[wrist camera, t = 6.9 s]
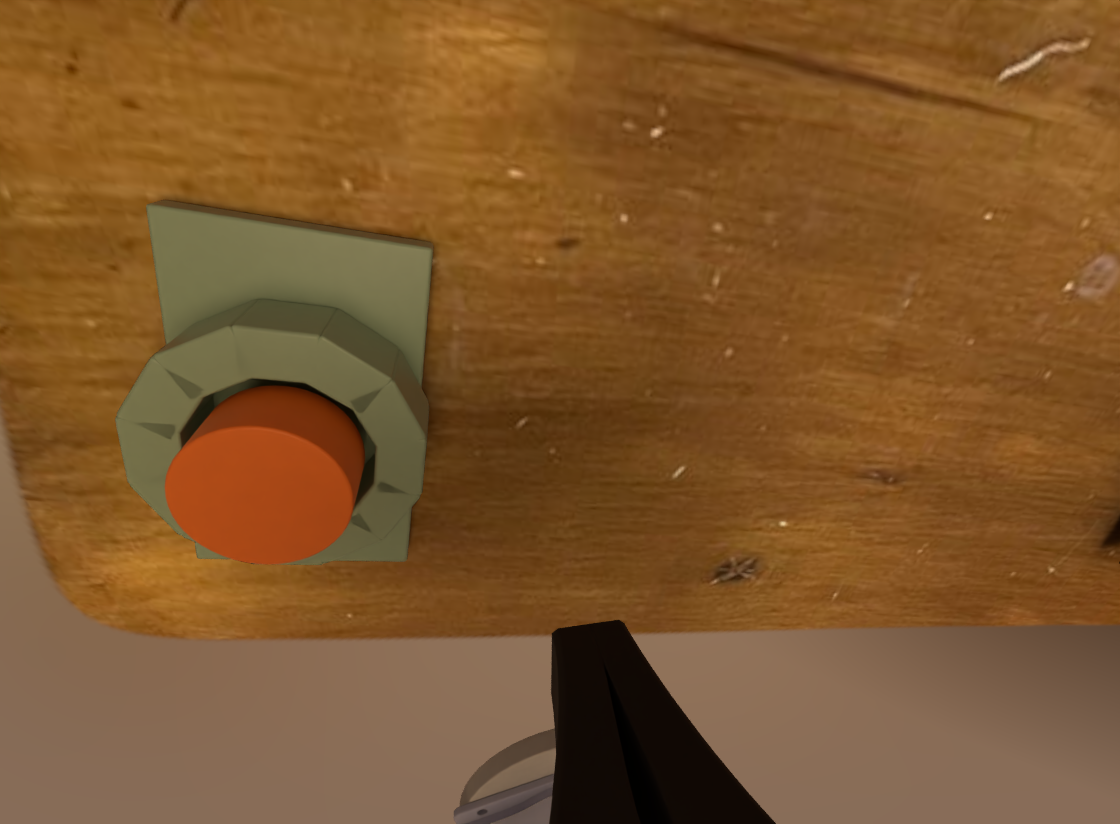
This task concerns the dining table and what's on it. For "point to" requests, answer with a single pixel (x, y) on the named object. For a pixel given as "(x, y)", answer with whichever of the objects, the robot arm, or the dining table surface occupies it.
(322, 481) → the button
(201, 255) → the control block
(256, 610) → the dining table surface
